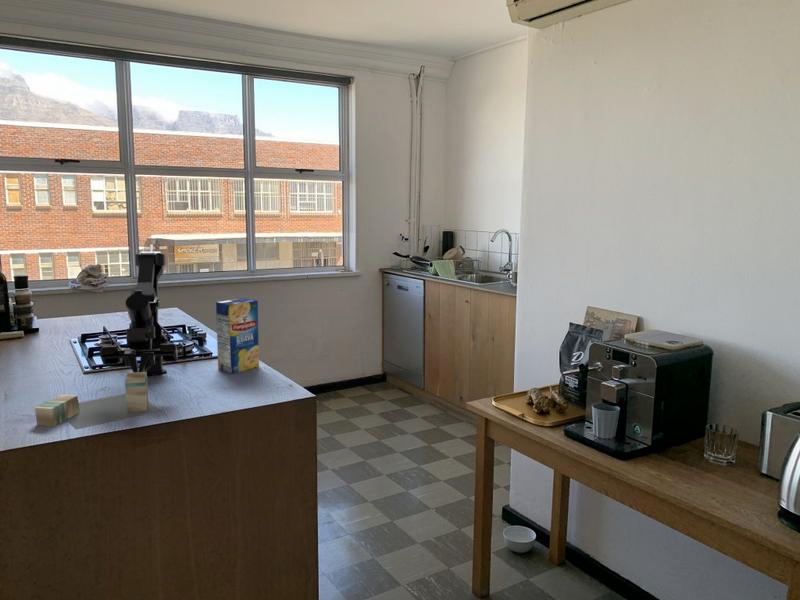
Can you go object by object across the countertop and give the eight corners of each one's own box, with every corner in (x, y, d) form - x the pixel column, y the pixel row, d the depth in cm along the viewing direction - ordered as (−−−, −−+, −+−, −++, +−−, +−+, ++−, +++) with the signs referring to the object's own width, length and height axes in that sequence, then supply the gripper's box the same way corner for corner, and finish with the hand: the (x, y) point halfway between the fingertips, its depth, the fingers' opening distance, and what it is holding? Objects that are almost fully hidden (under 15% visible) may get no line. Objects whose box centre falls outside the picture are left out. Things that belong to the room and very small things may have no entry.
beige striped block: (61, 394, 152) (34, 407, 144) (77, 395, 152) (51, 408, 143) (63, 411, 153) (36, 425, 145) (79, 412, 153) (54, 427, 144)
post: (129, 405, 158) (127, 372, 156) (148, 404, 159) (146, 371, 157) (126, 412, 154) (124, 378, 152) (146, 410, 155) (144, 377, 153)
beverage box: (217, 369, 193) (215, 302, 189) (246, 362, 201) (244, 297, 198) (231, 374, 189) (229, 304, 185) (259, 366, 197) (257, 300, 193)
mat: (55, 408, 156) (54, 407, 156) (134, 392, 169) (134, 391, 169) (76, 430, 142) (75, 429, 142) (160, 411, 156) (160, 410, 156)
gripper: (98, 316, 157) (92, 368, 149) (174, 314, 162) (172, 364, 154) (106, 338, 166) (100, 389, 158) (178, 336, 171) (176, 385, 163)
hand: (137, 381), depth 158 cm, fingers closed, pressing on post
